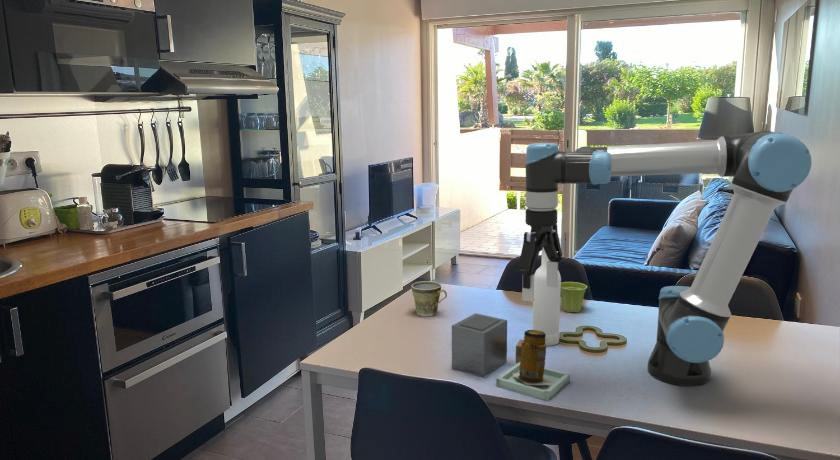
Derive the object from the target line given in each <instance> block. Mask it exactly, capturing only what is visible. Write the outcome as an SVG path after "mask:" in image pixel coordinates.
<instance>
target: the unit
mask: <svg viewBox="0 0 840 460" xmlns="http://www.w3.org/2000/svg"><path fill="white" fill-rule="evenodd" d="M507 350H508V319H503V318H499V317H495V316H491V315H484V314H481V313H474V314H472V315H470V316H467V317H466V318H464V319H462V320H460V321H458V322H456V323H455V324H452V325H451V369H453V370H457V371H460V372H464V373H467V374H471V375H474V376H477V377H482V378H486V377H487V376H488V375H490V374H492V373H493V372H494V371H496V370H497V369H498V368H500V367H502V366H503V365H504V364H506V363H507V362H508V361H507V358H508V357H507V355H508V351H507Z"/></svg>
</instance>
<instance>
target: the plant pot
mask: <svg viewBox="0 0 840 460" xmlns="http://www.w3.org/2000/svg"><path fill="white" fill-rule="evenodd" d="M586 289H588V285H586V284H584V283H581V282H578V281H577V282H575V281H563V282H561V294H560V299H561V306H562V308H561V309H562V311H564V312H567V313H577V314H578V313H580V312H581V311H582V306H583V302H584V297H585V293H586Z"/></svg>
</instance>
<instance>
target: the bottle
mask: <svg viewBox="0 0 840 460" xmlns="http://www.w3.org/2000/svg"><path fill="white" fill-rule="evenodd" d="M547 261H550V260H549V259H548V257H547V255H546V252H545V250H544V248H543V249H542V250H541V263H540V264H541V265H540V266H539V267H538V268H537V269H536V270H535V272H534V274H533V275H534V302H532V329H531V330H538V331H542V332H544V333H545V334H546V337H545V344H546V347H548V346H549V347H551V346H555V345H558V343H559V342H560V324H561V323H560V319H561V318H560V317H561V283H562V277H561V273H560V271H559V270H558V287H557V288H554V287H548V286H546V279H547Z"/></svg>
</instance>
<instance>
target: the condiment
mask: <svg viewBox="0 0 840 460" xmlns="http://www.w3.org/2000/svg"><path fill="white" fill-rule="evenodd" d="M545 337H546V334H545V333H544V332H542V331H538V330H532V329H526V330H525V331H524V337H523V340H524V341H523V342H522V350H521V360H520V371H519V374H518V373H513V375H514V376H515V377H516V378H518V379H519V380H520V381H522V382H523V383H524V384H526V385H553V384H552V383H550V382H549V381H548V380H546V379H544V378H543V375H544V367H545V365H546V355H547V346H546V344H545ZM545 368H546V367H545Z"/></svg>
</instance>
